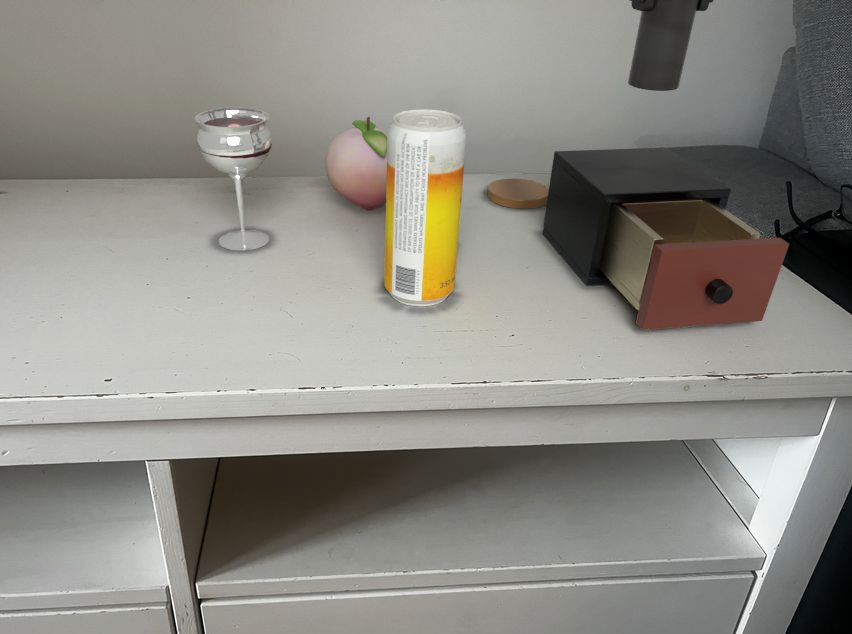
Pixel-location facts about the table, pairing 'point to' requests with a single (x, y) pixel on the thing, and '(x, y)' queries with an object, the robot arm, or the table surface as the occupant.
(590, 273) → the drawer cabinet
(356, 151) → the decorative fruit
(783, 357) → the table surface
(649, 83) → the dark grey cylinder
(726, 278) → the cabinet drawer
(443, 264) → the beer can
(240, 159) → the wineglass
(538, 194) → the disc
